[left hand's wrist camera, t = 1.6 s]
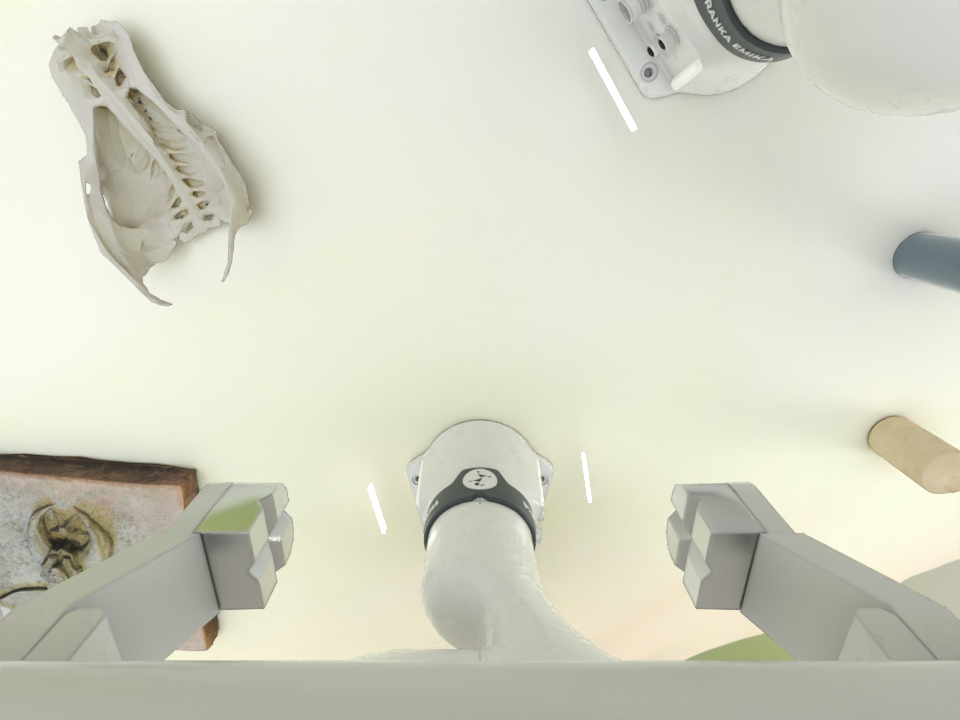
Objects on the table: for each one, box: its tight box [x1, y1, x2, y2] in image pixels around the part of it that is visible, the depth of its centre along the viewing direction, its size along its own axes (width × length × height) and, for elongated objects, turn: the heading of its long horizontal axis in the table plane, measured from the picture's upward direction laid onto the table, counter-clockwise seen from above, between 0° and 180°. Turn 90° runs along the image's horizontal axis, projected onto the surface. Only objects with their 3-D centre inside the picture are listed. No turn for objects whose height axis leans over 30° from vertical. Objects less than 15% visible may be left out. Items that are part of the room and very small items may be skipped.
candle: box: [868, 416, 960, 494], centre depth 60 cm, size 6×6×10 cm
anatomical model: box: [49, 20, 253, 306], centre depth 49 cm, size 15×9×25 cm
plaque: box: [0, 454, 218, 651], centre depth 68 cm, size 30×7×30 cm
